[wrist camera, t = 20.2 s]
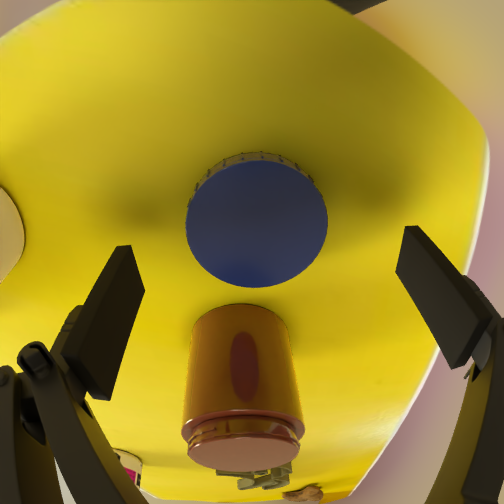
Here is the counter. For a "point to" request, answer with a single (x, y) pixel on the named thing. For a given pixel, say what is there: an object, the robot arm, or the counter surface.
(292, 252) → the jam lid
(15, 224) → the pill bottle
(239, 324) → the jam jar
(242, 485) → the cookie cutter
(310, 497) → the brown irregular lump
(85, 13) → the counter surface
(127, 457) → the supplement can
